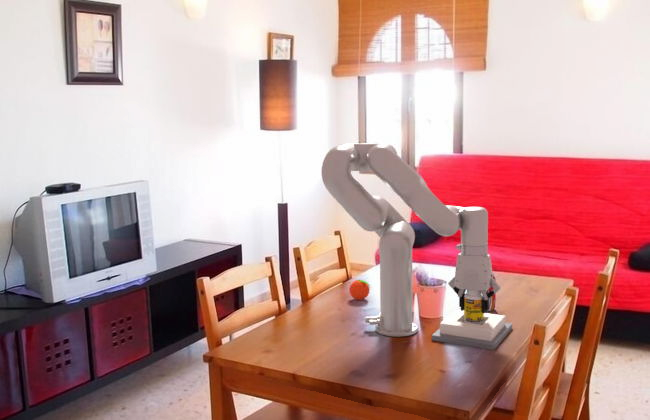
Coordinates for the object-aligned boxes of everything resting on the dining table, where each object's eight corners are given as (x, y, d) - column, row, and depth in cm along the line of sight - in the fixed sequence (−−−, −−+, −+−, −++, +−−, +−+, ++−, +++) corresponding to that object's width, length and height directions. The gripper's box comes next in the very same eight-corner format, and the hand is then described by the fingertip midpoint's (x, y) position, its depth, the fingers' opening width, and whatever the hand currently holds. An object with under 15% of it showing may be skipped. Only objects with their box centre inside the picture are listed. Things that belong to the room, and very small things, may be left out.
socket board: (494, 350, 192) (494, 334, 191) (431, 340, 201) (431, 325, 200) (512, 328, 209) (512, 313, 208) (454, 320, 218) (454, 306, 217)
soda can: (495, 313, 224) (496, 276, 222) (473, 312, 226) (473, 275, 224) (495, 306, 231) (495, 271, 229) (473, 305, 232) (473, 270, 230)
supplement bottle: (463, 324, 202) (463, 290, 201) (465, 318, 208) (465, 284, 206) (482, 325, 201) (482, 291, 199) (484, 319, 206) (484, 285, 204)
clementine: (375, 298, 242) (375, 278, 241) (366, 304, 236) (365, 283, 235) (355, 295, 246) (355, 276, 245) (345, 300, 241) (345, 280, 240)
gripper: (441, 250, 202) (441, 310, 205) (500, 255, 193) (499, 318, 196) (449, 245, 208) (449, 303, 211) (507, 249, 200) (506, 310, 203)
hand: (473, 310), depth 204 cm, fingers closed on supplement bottle, 5 cm apart
